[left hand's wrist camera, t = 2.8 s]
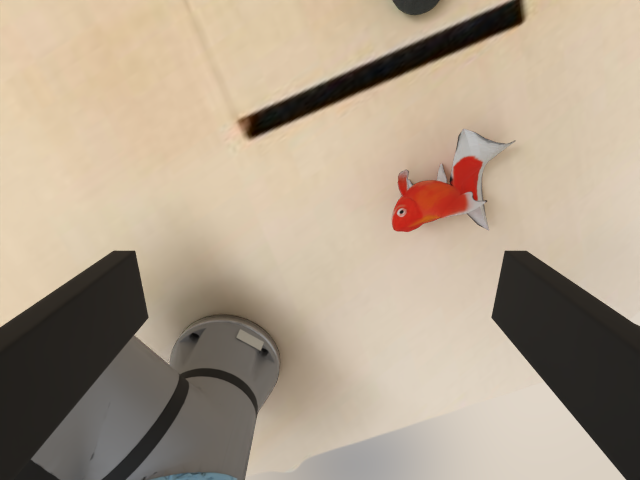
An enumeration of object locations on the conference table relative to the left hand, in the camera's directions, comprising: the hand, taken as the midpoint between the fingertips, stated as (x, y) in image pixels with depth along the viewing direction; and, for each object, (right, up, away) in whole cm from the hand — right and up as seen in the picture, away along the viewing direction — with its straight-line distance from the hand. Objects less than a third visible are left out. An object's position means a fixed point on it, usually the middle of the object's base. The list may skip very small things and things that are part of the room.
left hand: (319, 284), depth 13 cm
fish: (+14, +9, +29) cm, 34 cm away
